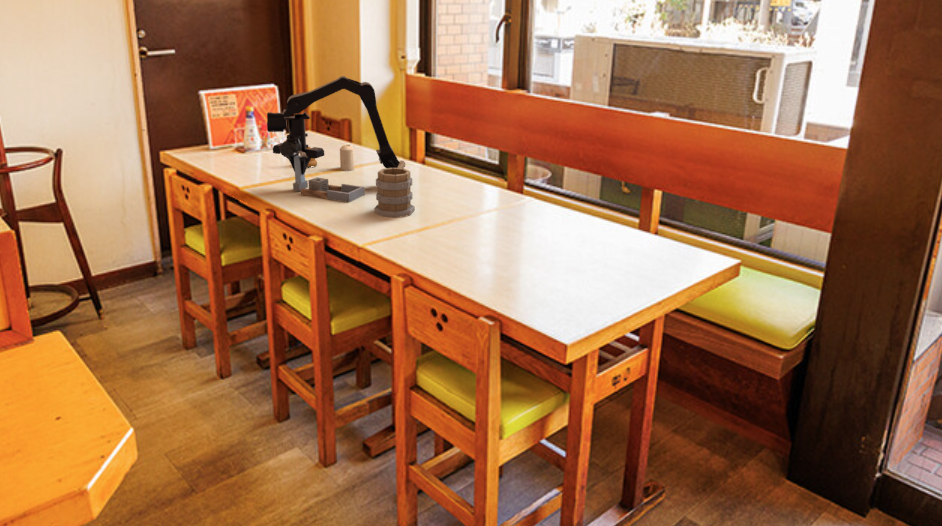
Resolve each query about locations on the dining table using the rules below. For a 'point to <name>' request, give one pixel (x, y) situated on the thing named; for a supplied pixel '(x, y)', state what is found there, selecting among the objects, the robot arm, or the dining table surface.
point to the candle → (347, 158)
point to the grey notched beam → (299, 176)
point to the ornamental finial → (312, 161)
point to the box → (346, 193)
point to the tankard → (394, 192)
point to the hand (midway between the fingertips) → (299, 173)
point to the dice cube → (319, 184)
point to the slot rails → (320, 193)
